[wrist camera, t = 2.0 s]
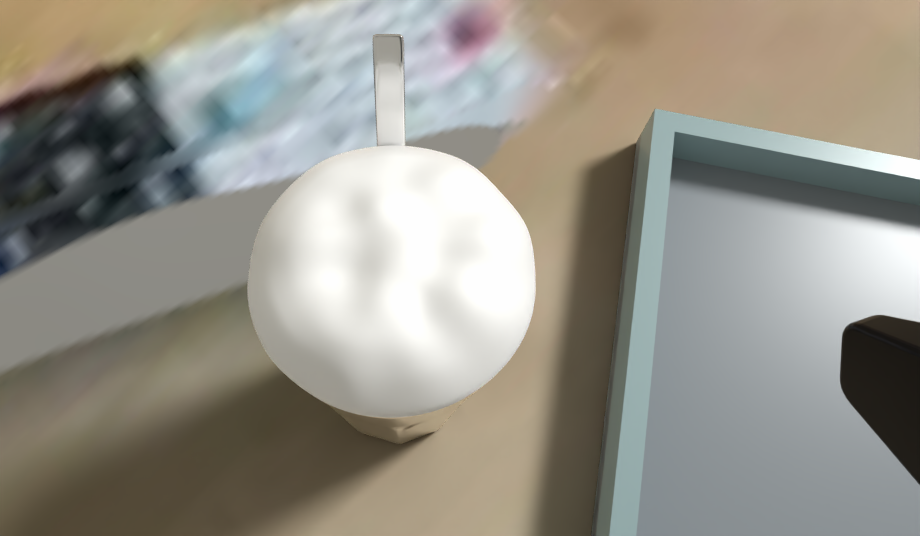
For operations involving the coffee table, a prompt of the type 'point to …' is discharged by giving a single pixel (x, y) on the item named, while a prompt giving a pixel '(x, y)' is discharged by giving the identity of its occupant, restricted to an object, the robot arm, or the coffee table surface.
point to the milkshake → (392, 276)
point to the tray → (754, 336)
